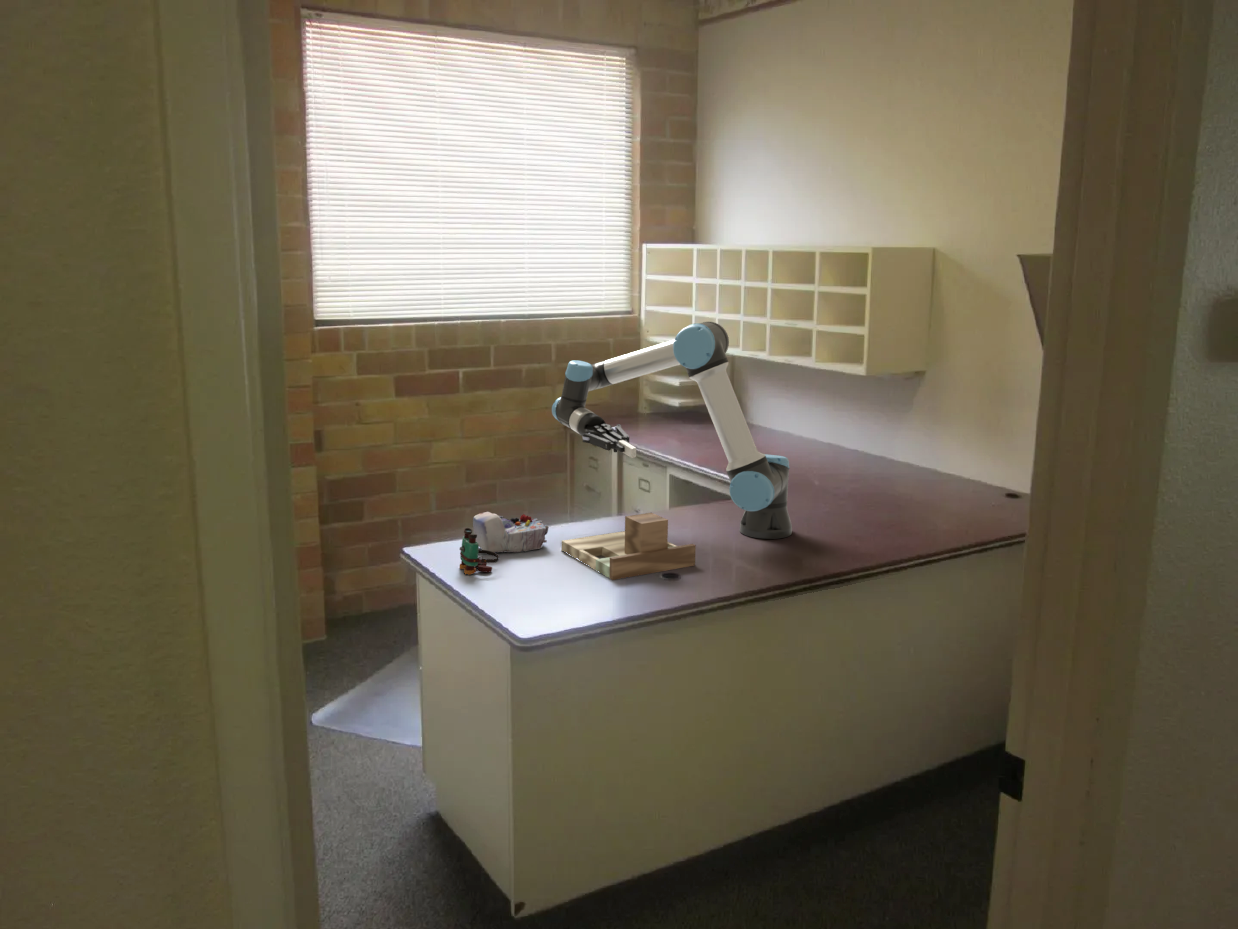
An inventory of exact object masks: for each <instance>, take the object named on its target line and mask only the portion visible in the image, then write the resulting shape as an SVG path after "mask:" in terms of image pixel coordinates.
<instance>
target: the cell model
mask: <svg viewBox="0 0 1238 929" xmlns="http://www.w3.org/2000/svg"><path fill="white" fill-rule="evenodd" d="M472 527H473V534H477V538H476V542H477V543H479V548H481V550H487V551H491V552H494V553H495V552H497V553H503V552H504V553H521V551H522V552H523V551H525V552H530V551H533V550H541V549H542V547H543V545H544V543H547V542H548V541H547V540H546V535H548V532H549V525H547V524H545V525H544V523H543V520H539V519H538V518H532V516H529V515H526V514H524V513H523V514H521V515H520V517H511V518H510V519H508V518H505V517H504V516H503V515H498V514H497V513H492V512H490V511H486V512H480V513H478V514H476V515H474V516H473V519H472Z"/></svg>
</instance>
